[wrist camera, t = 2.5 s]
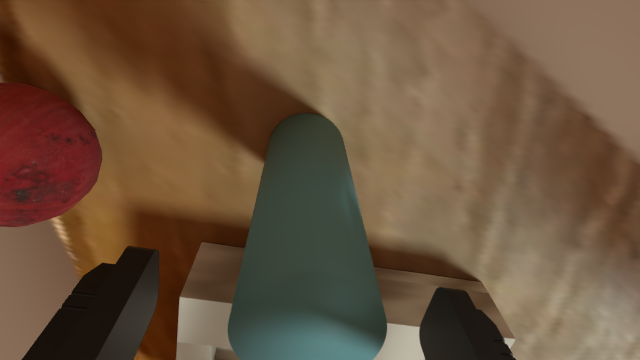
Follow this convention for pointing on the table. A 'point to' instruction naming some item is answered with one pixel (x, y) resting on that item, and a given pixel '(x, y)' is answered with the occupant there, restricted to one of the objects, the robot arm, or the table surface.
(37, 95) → the onion
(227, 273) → the hole board
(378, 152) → the table surface
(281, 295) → the pin
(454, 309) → the robot arm
